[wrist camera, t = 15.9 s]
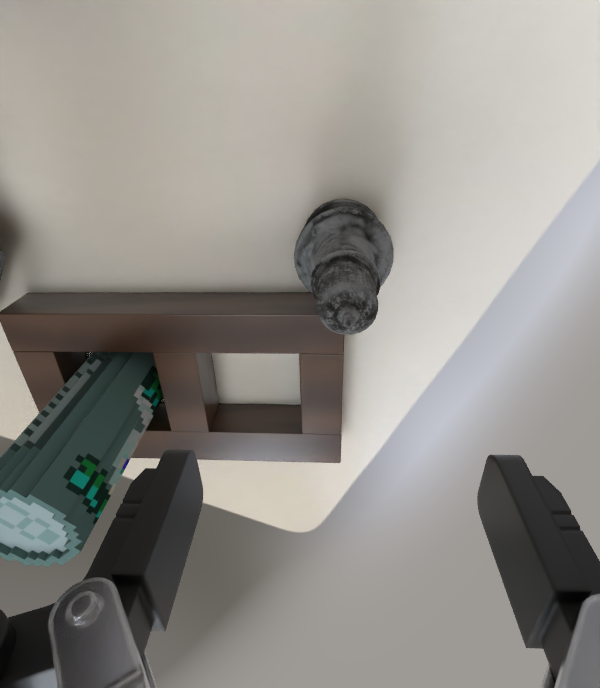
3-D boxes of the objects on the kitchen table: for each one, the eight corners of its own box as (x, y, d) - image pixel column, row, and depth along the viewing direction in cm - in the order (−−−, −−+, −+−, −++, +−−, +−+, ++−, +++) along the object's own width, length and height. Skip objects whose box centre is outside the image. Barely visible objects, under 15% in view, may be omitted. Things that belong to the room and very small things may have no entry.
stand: (27, 292, 32) (-4, 313, 29) (343, 292, 31) (344, 314, 28) (78, 427, 39) (57, 456, 36) (339, 432, 37) (340, 463, 34)
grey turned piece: (314, 181, 27) (304, 239, 17) (401, 211, 28) (444, 286, 17) (286, 266, 30) (264, 360, 20) (366, 292, 31) (384, 396, 20)
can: (142, 408, 37) (43, 578, 24) (81, 364, 35) (-61, 524, 22) (185, 370, 35) (101, 535, 22) (123, 320, 33) (-10, 471, 20)
